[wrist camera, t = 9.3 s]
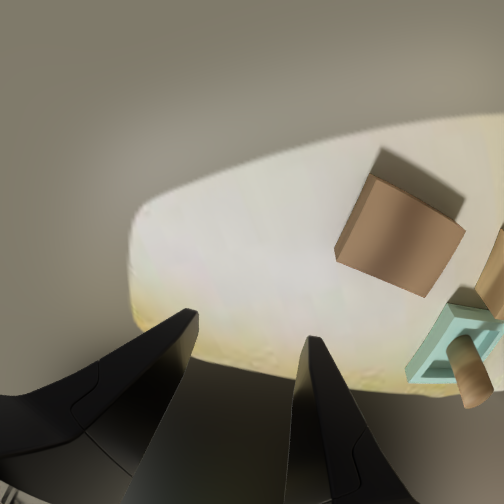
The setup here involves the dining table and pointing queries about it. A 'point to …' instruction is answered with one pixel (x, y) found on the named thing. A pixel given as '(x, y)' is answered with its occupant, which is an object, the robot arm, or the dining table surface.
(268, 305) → the dining table surface
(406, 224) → the walnut board
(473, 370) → the oak dowel
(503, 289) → the block
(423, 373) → the tray
